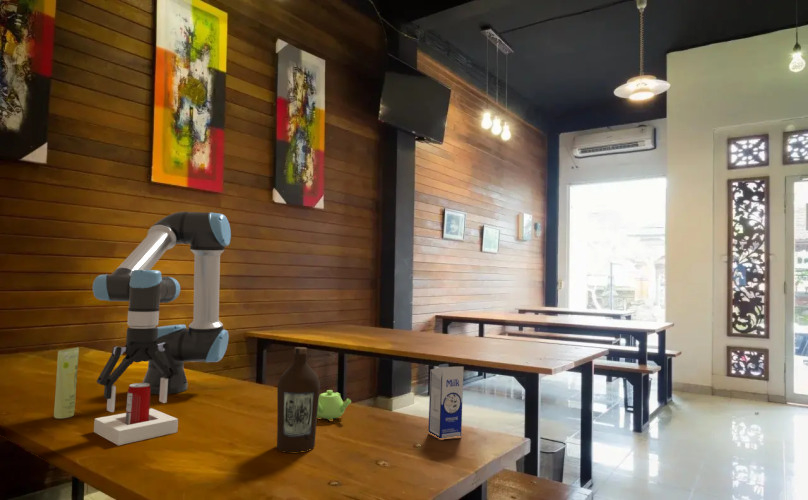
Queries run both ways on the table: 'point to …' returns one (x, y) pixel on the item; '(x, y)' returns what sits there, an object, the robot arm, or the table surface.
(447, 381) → the milk carton
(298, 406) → the olive oil
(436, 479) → the table surface
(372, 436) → the table surface
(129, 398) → the soda can
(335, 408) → the teapot
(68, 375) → the tube
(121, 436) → the socket block
